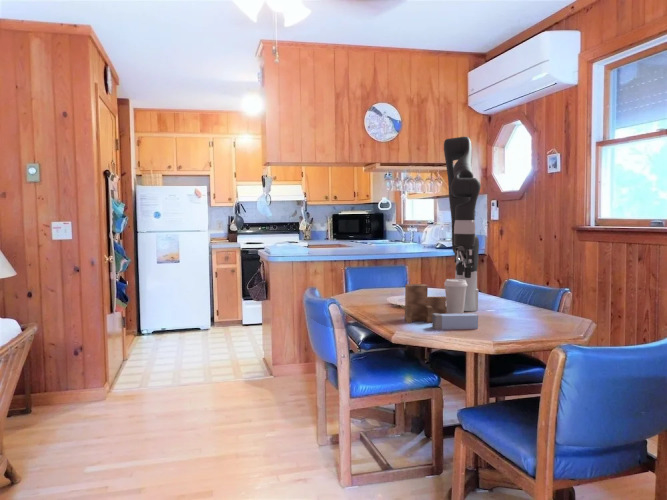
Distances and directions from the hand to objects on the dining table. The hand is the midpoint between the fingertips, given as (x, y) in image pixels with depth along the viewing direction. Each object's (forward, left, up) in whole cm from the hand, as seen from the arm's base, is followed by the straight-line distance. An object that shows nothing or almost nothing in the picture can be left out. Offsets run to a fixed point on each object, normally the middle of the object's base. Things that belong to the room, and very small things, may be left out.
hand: (463, 276), depth 184 cm
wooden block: (+10, -13, -19) cm, 25 cm away
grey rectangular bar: (+3, 0, -19) cm, 20 cm away
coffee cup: (-4, -21, -19) cm, 29 cm away
